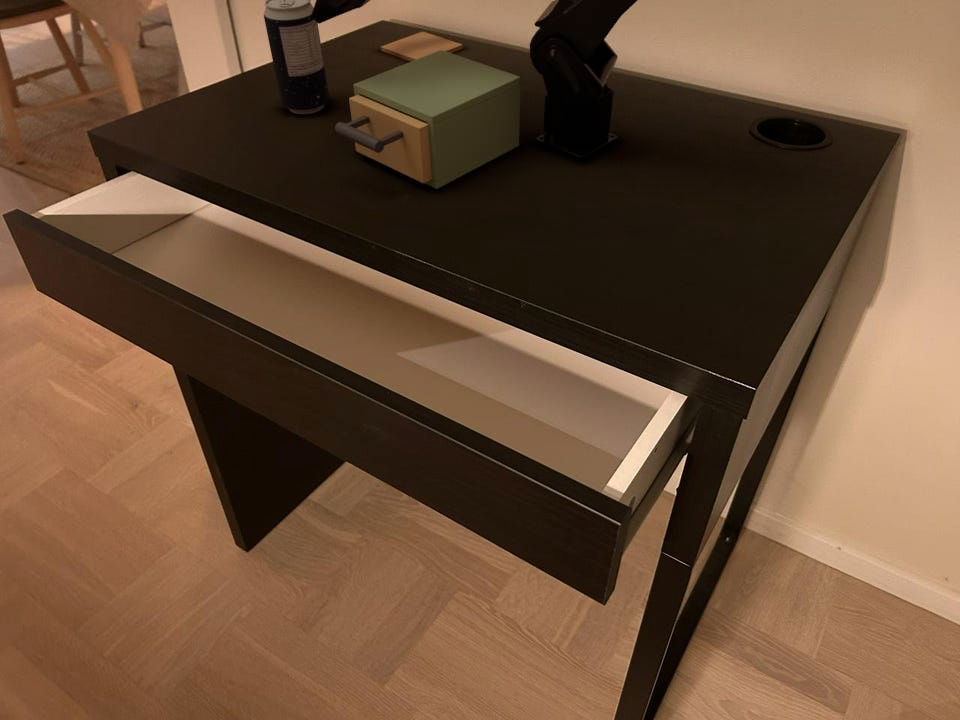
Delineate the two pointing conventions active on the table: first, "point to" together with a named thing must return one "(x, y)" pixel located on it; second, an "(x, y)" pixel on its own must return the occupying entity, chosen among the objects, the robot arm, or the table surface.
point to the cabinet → (453, 109)
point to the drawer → (389, 137)
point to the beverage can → (296, 55)
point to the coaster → (420, 46)
